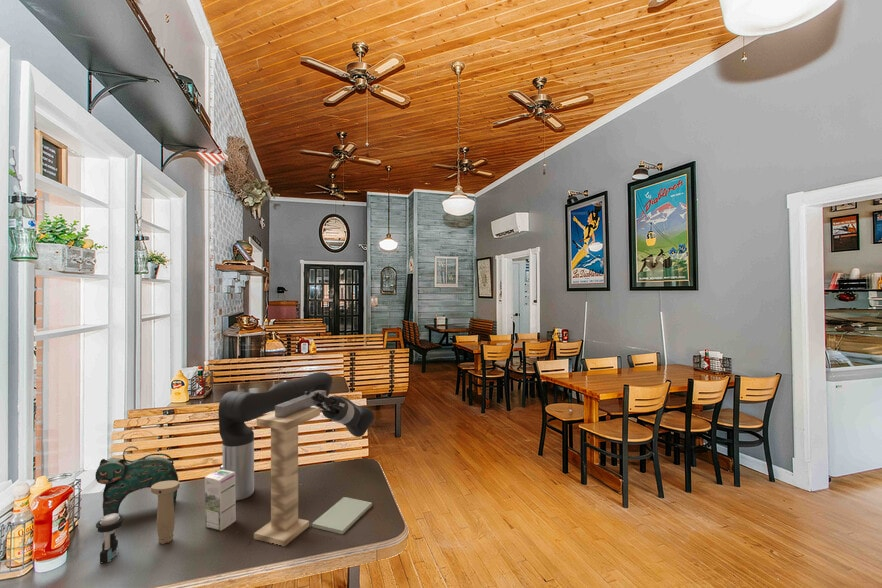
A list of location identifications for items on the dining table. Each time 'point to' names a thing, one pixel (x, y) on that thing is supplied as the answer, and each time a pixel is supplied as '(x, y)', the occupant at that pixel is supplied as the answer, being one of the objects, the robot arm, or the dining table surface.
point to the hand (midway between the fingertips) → (310, 395)
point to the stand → (284, 477)
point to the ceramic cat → (132, 477)
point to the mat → (342, 515)
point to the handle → (165, 509)
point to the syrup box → (220, 499)
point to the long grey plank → (296, 404)
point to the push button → (109, 535)
